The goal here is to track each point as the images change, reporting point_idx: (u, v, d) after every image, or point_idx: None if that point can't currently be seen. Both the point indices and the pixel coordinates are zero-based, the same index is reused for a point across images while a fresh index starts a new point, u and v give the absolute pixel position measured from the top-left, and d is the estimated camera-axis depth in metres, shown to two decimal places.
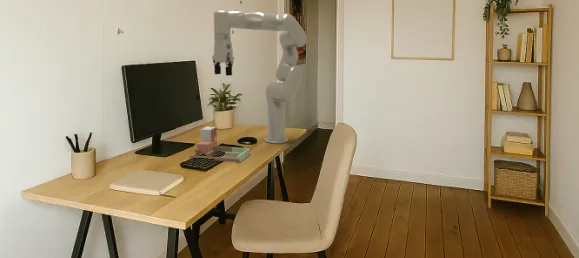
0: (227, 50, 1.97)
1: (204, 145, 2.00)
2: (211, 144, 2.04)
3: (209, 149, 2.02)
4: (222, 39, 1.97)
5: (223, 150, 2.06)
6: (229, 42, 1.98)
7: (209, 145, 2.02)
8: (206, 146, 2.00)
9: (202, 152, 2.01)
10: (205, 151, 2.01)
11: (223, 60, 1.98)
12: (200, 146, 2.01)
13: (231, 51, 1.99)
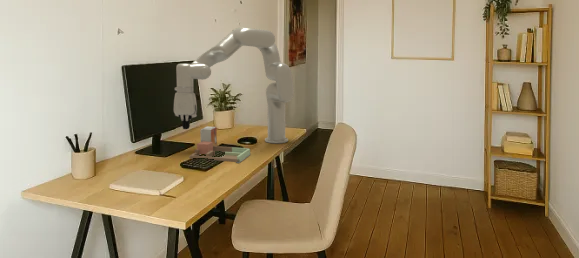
0: None
1: (204, 145, 2.00)
2: (211, 144, 2.04)
3: (209, 149, 2.02)
4: None
5: (223, 150, 2.06)
6: None
7: (209, 145, 2.02)
8: (206, 146, 2.00)
9: (202, 152, 2.01)
10: (205, 151, 2.01)
11: None
12: (200, 146, 2.01)
13: None
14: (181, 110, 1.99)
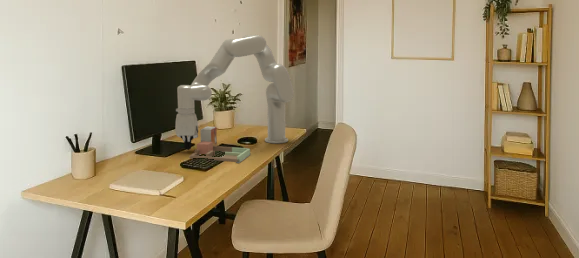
0: None
1: (204, 145, 2.00)
2: (211, 144, 2.04)
3: (209, 149, 2.02)
4: None
5: (223, 150, 2.06)
6: None
7: (209, 145, 2.02)
8: (206, 146, 2.00)
9: (202, 152, 2.01)
10: (205, 151, 2.01)
11: None
12: (200, 146, 2.01)
13: None
14: (183, 131, 2.01)
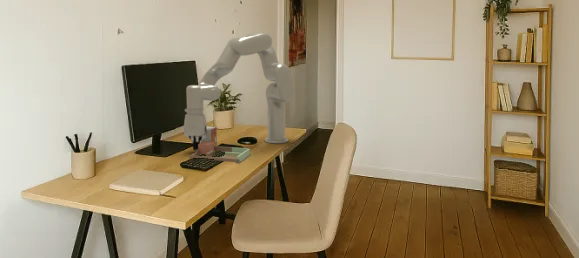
0: None
1: (205, 145, 2.00)
2: (212, 144, 2.03)
3: (210, 149, 2.01)
4: None
5: (223, 150, 2.06)
6: None
7: (210, 145, 2.01)
8: (207, 146, 2.00)
9: (203, 152, 2.01)
10: (206, 151, 2.00)
11: None
12: (201, 146, 2.00)
13: None
14: (191, 131, 2.00)
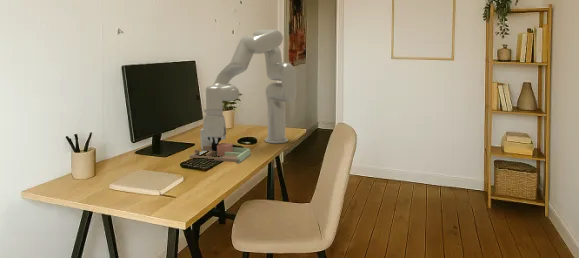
0: None
1: (224, 147, 1.97)
2: (231, 146, 2.00)
3: (229, 151, 1.98)
4: None
5: None
6: None
7: (229, 147, 1.98)
8: (226, 148, 1.97)
9: (222, 154, 1.98)
10: None
11: None
12: (220, 148, 1.98)
13: None
14: (211, 132, 1.98)
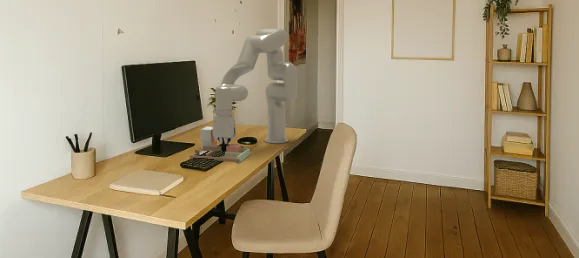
0: None
1: (234, 148, 1.95)
2: (240, 147, 1.99)
3: (238, 152, 1.97)
4: None
5: None
6: None
7: (239, 148, 1.97)
8: (236, 149, 1.95)
9: None
10: None
11: None
12: (229, 149, 1.96)
13: None
14: (220, 133, 1.96)
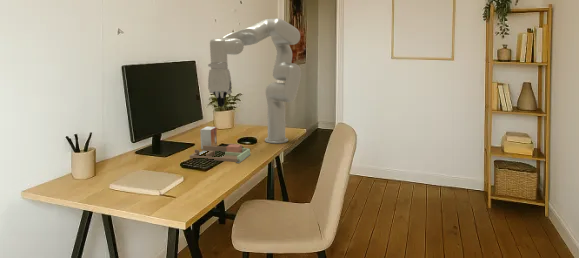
0: None
1: (234, 148, 1.95)
2: (240, 147, 1.99)
3: (239, 152, 1.97)
4: None
5: (223, 150, 2.06)
6: None
7: (239, 148, 1.97)
8: (236, 149, 1.95)
9: None
10: None
11: None
12: (229, 149, 1.96)
13: None
14: (216, 86, 1.95)
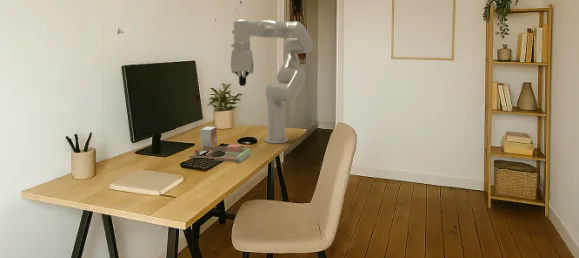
0: None
1: (234, 148, 1.95)
2: (240, 147, 1.99)
3: (239, 152, 1.97)
4: None
5: (223, 150, 2.06)
6: None
7: (239, 148, 1.97)
8: (236, 149, 1.95)
9: None
10: None
11: None
12: (229, 149, 1.96)
13: None
14: (239, 66, 2.01)
